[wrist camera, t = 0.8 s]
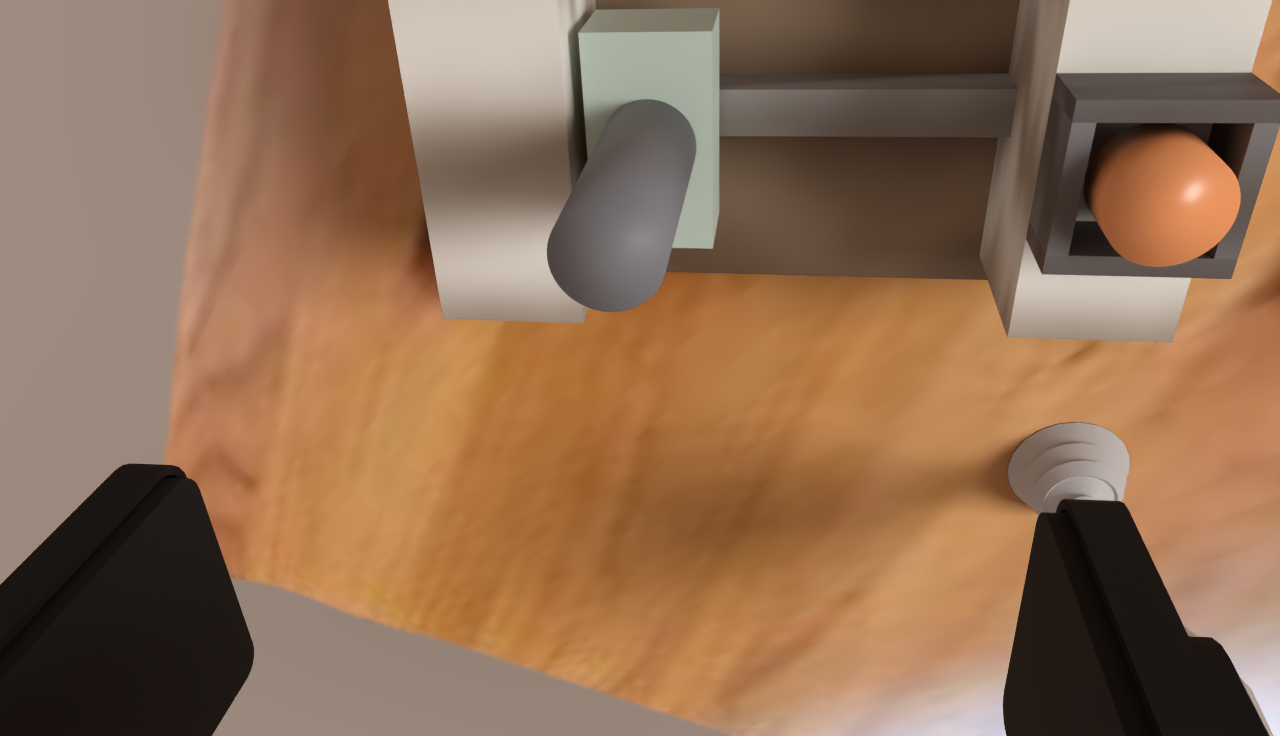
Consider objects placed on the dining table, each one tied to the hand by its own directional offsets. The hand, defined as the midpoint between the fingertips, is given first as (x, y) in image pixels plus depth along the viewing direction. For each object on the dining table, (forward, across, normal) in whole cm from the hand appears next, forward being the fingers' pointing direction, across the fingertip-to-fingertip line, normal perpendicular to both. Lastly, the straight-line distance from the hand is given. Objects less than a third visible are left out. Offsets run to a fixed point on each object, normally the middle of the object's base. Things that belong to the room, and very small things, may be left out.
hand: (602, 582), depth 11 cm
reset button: (+19, -12, +2) cm, 23 cm away
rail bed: (+28, -2, +2) cm, 28 cm away
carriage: (+25, +2, +2) cm, 25 cm away
